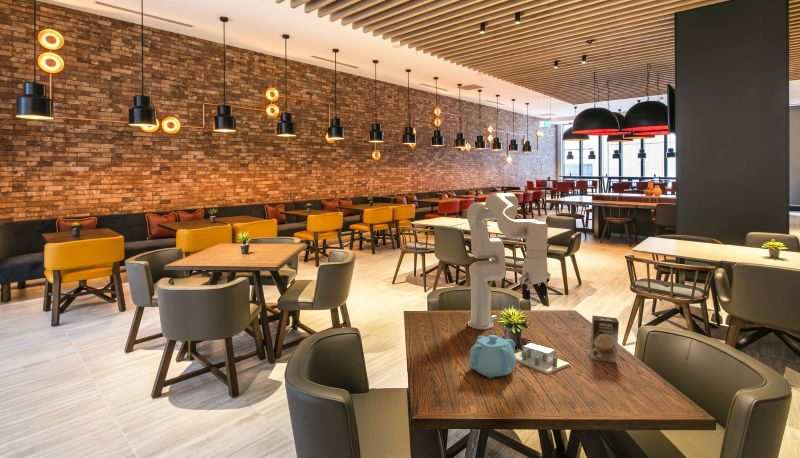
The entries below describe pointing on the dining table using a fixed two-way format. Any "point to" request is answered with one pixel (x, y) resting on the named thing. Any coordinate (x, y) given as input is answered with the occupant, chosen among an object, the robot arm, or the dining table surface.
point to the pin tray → (547, 369)
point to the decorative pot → (493, 356)
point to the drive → (539, 353)
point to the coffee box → (604, 338)
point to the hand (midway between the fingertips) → (534, 297)
